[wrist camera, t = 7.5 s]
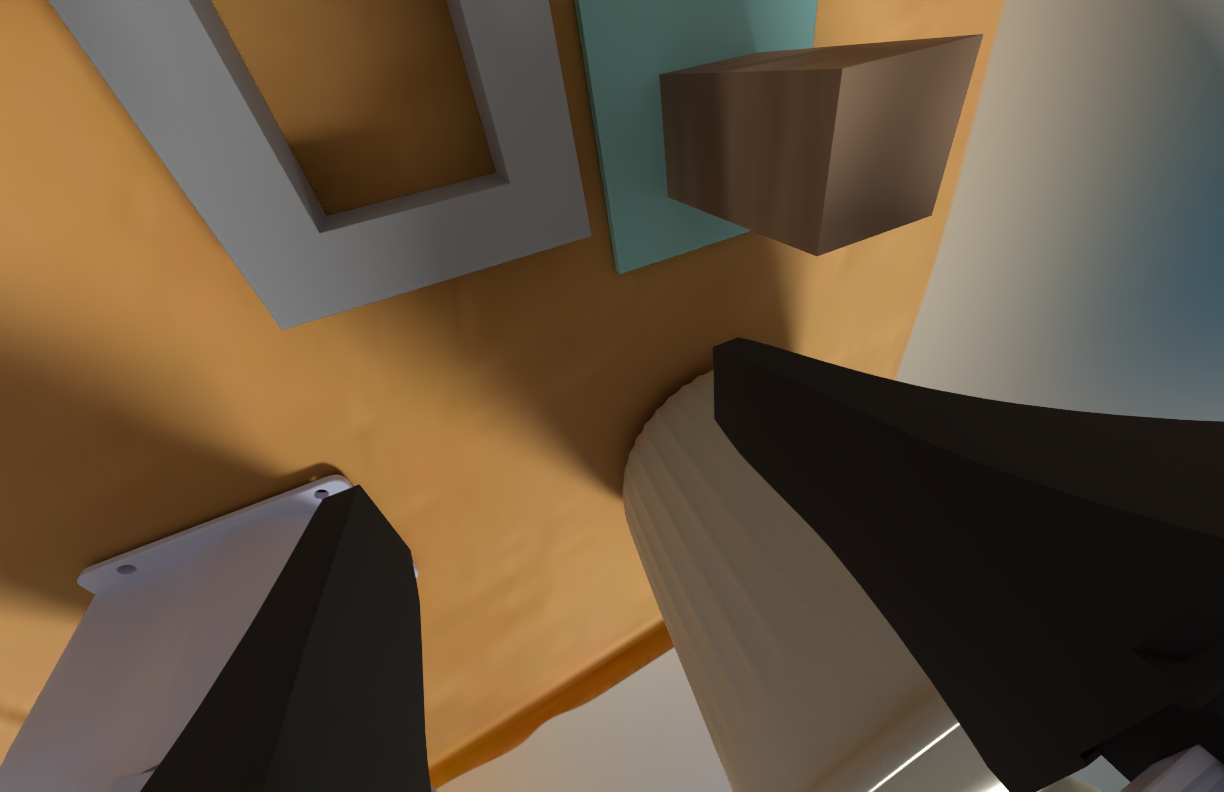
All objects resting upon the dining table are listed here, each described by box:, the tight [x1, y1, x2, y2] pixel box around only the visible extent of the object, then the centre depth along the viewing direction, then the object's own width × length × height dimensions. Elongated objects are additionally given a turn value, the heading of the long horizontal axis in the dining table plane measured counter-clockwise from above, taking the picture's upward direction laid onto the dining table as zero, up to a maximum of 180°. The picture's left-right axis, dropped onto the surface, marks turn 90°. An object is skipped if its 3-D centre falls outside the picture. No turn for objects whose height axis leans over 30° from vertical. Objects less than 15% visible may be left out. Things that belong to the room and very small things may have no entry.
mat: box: [574, 0, 817, 274], centre depth 17 cm, size 9×9×1 cm
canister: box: [623, 369, 1103, 792], centre depth 20 cm, size 18×18×21 cm
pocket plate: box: [48, 0, 592, 330], centre depth 12 cm, size 10×10×2 cm
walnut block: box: [659, 34, 983, 256], centre depth 14 cm, size 4×4×8 cm
